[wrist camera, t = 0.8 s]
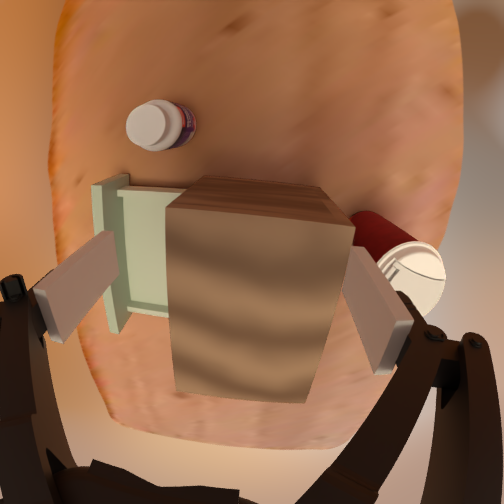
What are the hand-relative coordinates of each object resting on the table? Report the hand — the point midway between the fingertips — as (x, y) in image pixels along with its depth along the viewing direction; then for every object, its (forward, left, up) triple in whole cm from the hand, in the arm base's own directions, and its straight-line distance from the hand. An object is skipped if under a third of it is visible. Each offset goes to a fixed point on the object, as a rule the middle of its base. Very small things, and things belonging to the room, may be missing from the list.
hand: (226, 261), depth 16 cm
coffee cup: (+4, +16, -21) cm, 27 cm away
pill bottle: (-7, -9, -21) cm, 24 cm away
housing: (+9, +2, -21) cm, 23 cm away
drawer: (+9, -11, -21) cm, 25 cm away
